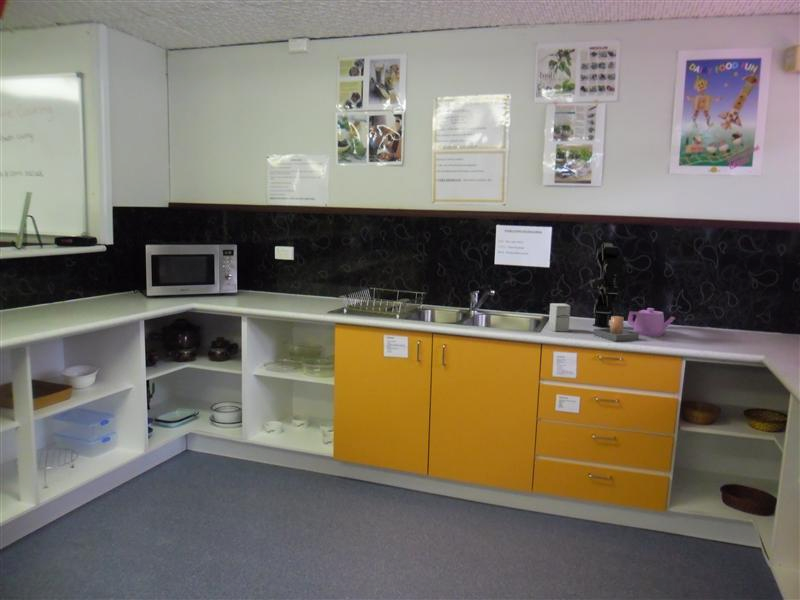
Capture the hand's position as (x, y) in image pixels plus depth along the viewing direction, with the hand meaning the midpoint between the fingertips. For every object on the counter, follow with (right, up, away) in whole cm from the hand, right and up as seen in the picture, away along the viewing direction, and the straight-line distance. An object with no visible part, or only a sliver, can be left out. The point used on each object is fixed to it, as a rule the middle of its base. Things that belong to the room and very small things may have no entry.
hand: (606, 305), depth 297 cm
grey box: (-22, -12, +5) cm, 25 cm away
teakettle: (+21, -14, +2) cm, 25 cm away
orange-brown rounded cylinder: (+1, -14, -10) cm, 17 cm away
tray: (+1, -15, -9) cm, 18 cm away
